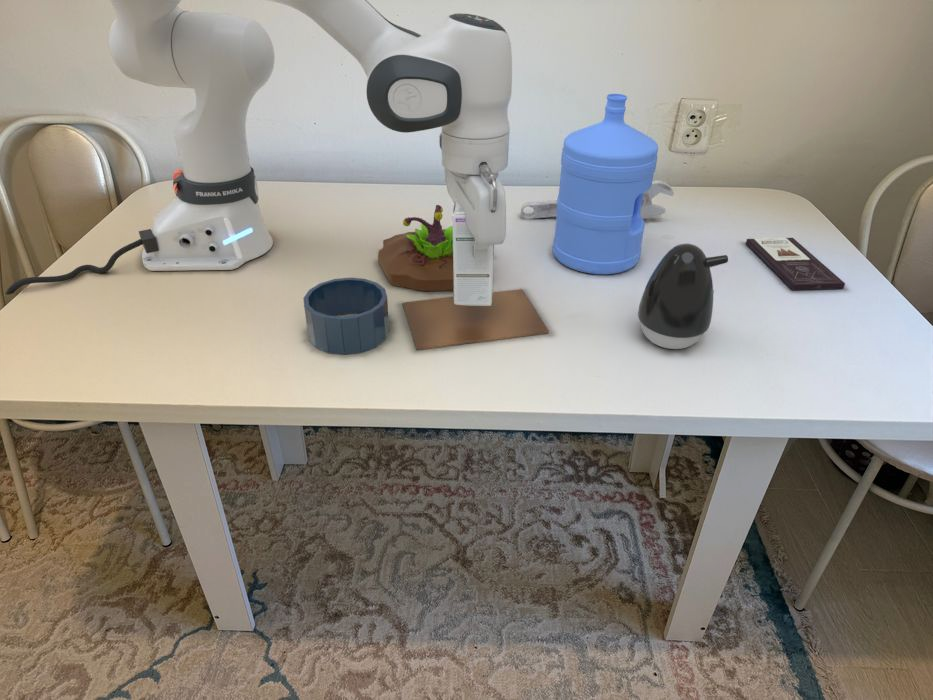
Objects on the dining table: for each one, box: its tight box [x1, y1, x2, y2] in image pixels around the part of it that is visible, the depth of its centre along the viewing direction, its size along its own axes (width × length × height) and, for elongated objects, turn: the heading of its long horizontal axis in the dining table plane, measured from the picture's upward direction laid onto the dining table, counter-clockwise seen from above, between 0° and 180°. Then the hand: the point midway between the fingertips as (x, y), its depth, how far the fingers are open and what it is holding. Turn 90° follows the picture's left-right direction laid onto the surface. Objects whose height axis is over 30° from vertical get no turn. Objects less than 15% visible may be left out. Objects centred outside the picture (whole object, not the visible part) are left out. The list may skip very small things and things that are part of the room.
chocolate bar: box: [745, 237, 846, 291], centre depth 118 cm, size 9×1×18 cm
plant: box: [377, 204, 454, 292], centre depth 114 cm, size 20×20×11 cm
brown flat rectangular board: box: [401, 288, 550, 351], centre depth 102 cm, size 20×13×1 cm, turn 104°
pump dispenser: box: [637, 243, 729, 350], centre depth 94 cm, size 10×10×15 cm
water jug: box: [552, 93, 659, 275], centre depth 113 cm, size 16×16×28 cm
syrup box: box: [452, 199, 495, 306], centre depth 96 cm, size 6×6×14 cm
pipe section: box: [303, 277, 390, 356], centre depth 97 cm, size 12×12×6 cm
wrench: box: [520, 180, 675, 220], centre depth 133 cm, size 8×2×30 cm
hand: (473, 247), depth 95 cm, fingers closed on syrup box, 6 cm apart
